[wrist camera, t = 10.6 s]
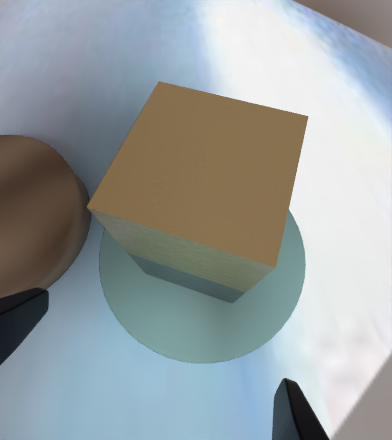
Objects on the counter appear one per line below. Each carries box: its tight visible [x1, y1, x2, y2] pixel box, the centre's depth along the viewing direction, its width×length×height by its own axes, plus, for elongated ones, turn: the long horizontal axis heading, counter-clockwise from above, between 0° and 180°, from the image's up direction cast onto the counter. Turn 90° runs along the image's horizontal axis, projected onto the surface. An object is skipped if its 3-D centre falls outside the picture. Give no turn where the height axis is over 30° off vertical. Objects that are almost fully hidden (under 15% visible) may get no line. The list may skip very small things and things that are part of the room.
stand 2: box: [99, 209, 305, 363], centre depth 18 cm, size 13×13×3 cm
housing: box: [87, 82, 308, 304], centre depth 12 cm, size 6×6×9 cm
